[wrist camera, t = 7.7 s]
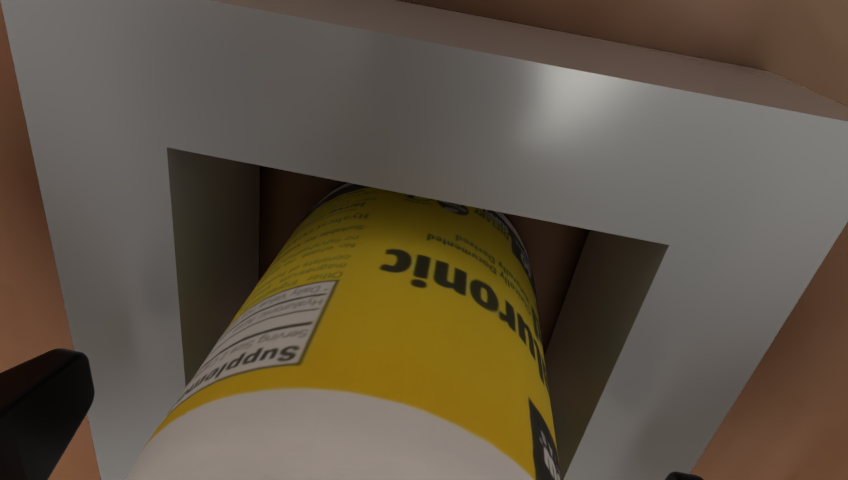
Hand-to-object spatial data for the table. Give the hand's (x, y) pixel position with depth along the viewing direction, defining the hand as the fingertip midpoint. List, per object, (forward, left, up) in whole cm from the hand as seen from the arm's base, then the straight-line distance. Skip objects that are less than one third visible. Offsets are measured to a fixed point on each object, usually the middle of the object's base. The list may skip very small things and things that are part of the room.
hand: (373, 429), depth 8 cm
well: (0, 0, -4) cm, 4 cm away
